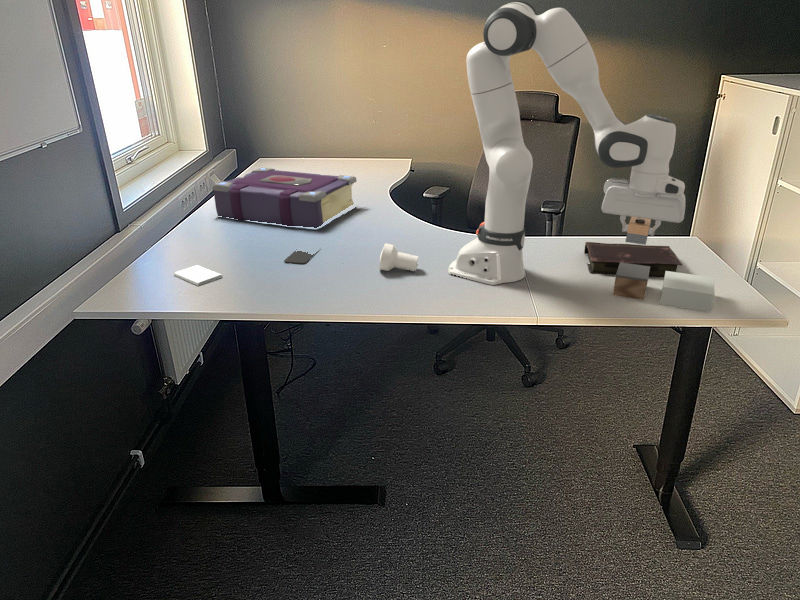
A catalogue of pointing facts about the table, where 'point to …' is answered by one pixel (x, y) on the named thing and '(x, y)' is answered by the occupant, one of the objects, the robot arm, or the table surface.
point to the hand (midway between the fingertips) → (637, 233)
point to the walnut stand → (631, 281)
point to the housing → (638, 230)
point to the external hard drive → (198, 275)
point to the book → (284, 197)
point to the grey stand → (688, 291)
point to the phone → (298, 257)
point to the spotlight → (396, 259)
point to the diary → (630, 258)
